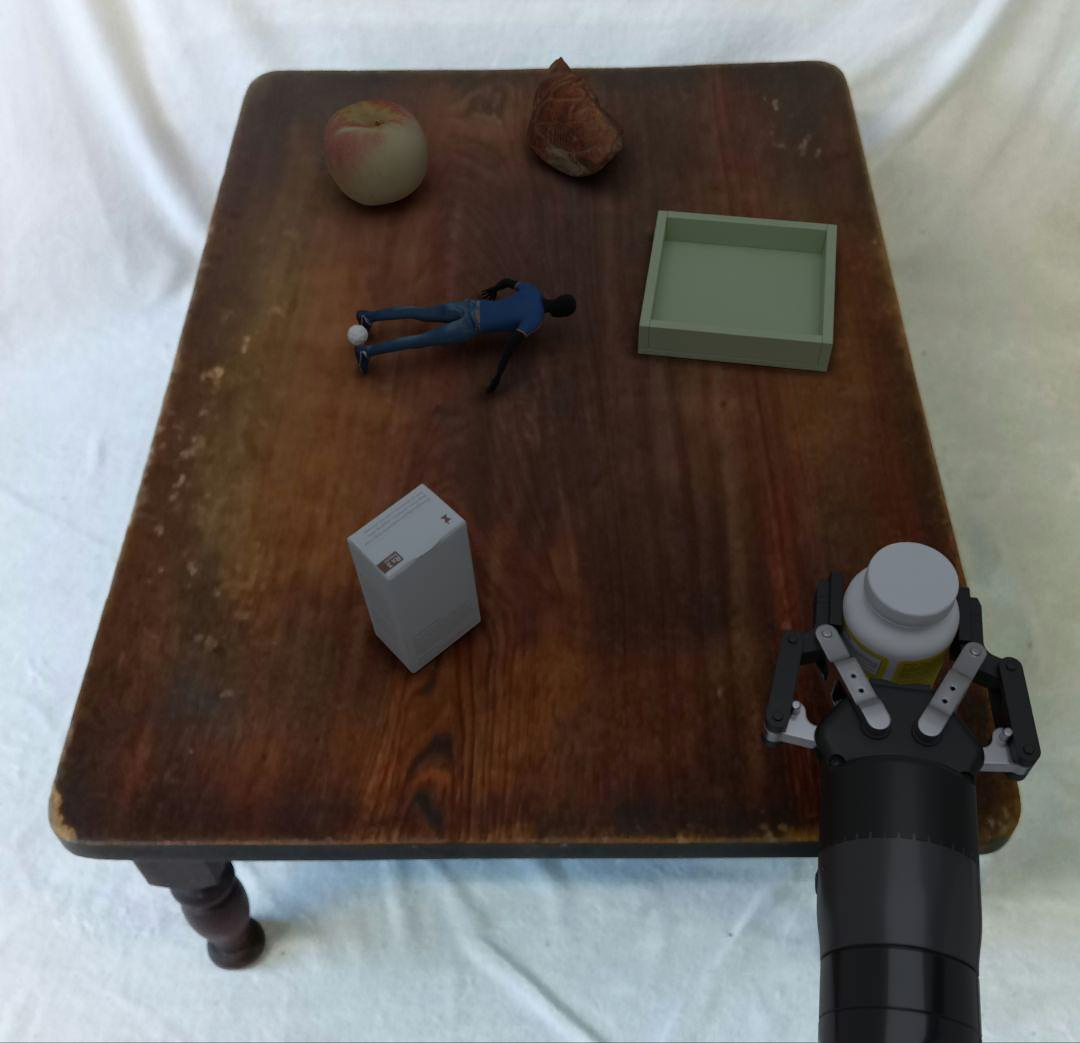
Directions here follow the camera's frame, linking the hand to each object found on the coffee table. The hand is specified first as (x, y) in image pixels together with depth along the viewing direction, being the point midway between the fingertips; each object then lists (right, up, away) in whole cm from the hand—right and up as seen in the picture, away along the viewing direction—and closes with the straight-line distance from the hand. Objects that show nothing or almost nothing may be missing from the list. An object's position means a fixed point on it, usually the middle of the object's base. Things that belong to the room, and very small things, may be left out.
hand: (895, 587), depth 67 cm
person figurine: (-26, +17, +28) cm, 42 cm away
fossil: (-17, +38, +42) cm, 59 cm away
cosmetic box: (-27, -4, +12) cm, 30 cm away
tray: (-4, +22, +30) cm, 37 cm away
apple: (-34, +33, +39) cm, 62 cm away
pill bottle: (0, -6, +4) cm, 7 cm away
